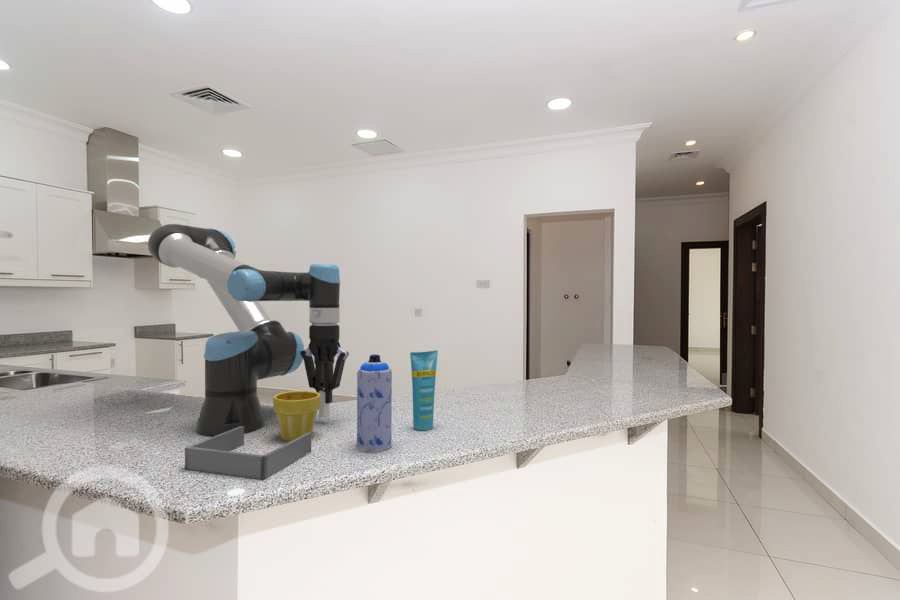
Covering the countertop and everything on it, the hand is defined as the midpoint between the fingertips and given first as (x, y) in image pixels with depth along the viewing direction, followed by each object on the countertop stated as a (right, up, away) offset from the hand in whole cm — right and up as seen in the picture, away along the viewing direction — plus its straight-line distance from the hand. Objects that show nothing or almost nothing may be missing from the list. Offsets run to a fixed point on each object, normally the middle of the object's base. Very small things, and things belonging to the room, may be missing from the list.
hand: (324, 415), depth 117 cm
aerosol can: (+16, -2, -18) cm, 24 cm away
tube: (+26, -2, -4) cm, 26 cm away
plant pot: (-3, -2, -11) cm, 12 cm away
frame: (-7, -2, -26) cm, 27 cm away
